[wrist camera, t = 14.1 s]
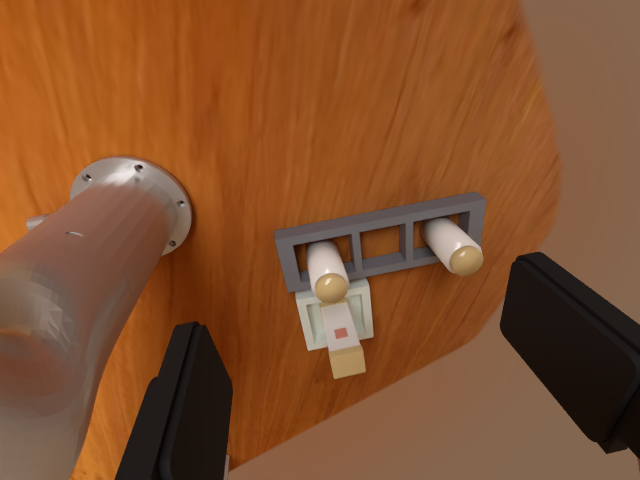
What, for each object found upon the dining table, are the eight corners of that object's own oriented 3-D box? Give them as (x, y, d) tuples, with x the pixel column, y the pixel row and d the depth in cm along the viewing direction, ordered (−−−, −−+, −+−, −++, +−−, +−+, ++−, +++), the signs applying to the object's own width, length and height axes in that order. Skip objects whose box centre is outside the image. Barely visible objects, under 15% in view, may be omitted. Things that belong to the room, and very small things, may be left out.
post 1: (307, 265, 46) (315, 309, 38) (302, 238, 43) (309, 279, 36) (338, 259, 46) (352, 301, 38) (334, 232, 43) (348, 271, 36)
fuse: (318, 303, 49) (329, 357, 40) (346, 297, 49) (363, 350, 40) (323, 323, 51) (334, 379, 42) (349, 317, 51) (365, 371, 42)
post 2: (418, 243, 46) (448, 282, 38) (419, 215, 44) (451, 251, 36) (448, 237, 46) (484, 274, 39) (450, 209, 44) (489, 243, 36)
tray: (306, 338, 53) (308, 350, 50) (294, 289, 47) (295, 300, 45) (369, 325, 53) (373, 337, 51) (364, 274, 48) (369, 285, 46)
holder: (287, 281, 46) (288, 292, 44) (274, 230, 42) (274, 240, 40) (469, 244, 48) (479, 254, 45) (475, 191, 43) (486, 199, 41)
